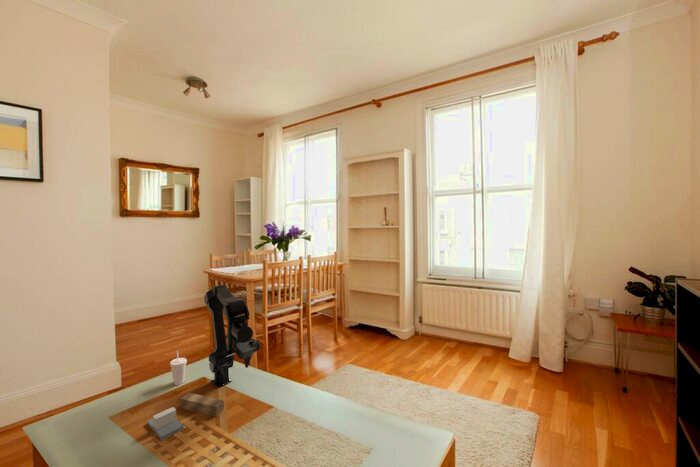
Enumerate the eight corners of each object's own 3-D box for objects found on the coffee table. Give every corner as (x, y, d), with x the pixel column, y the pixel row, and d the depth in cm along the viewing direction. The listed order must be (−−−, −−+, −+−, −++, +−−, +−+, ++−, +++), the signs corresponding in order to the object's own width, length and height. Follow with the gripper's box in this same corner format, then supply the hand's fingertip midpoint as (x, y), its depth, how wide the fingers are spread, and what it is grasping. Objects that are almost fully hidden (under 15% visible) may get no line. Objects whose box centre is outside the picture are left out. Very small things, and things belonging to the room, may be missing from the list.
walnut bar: (181, 408, 120) (180, 398, 120) (189, 402, 124) (188, 392, 124) (216, 417, 116) (216, 406, 115) (224, 410, 120) (223, 400, 119)
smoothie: (182, 376, 141) (182, 346, 140) (190, 381, 137) (189, 350, 136) (167, 383, 136) (166, 351, 135) (175, 388, 132) (174, 356, 131)
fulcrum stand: (147, 424, 111) (146, 410, 111) (168, 413, 116) (168, 401, 116) (161, 440, 104) (161, 426, 103) (183, 428, 109) (183, 415, 109)
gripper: (223, 347, 109) (224, 391, 110) (268, 331, 123) (268, 369, 125) (207, 338, 116) (208, 379, 117) (251, 324, 130) (252, 360, 132)
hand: (235, 372), depth 122 cm, fingers open, 9 cm apart
